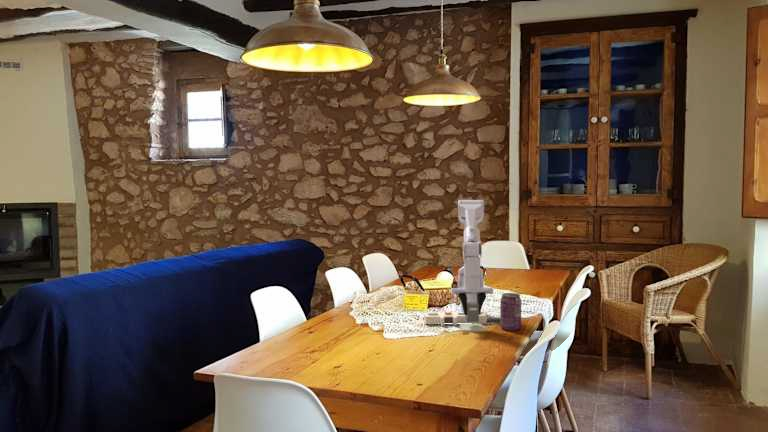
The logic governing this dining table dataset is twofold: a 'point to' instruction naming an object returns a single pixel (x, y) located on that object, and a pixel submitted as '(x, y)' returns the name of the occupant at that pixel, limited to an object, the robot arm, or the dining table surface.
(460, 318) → the power strip
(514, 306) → the beverage can
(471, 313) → the block
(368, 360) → the dining table surface
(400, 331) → the dining table surface
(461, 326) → the coaster
